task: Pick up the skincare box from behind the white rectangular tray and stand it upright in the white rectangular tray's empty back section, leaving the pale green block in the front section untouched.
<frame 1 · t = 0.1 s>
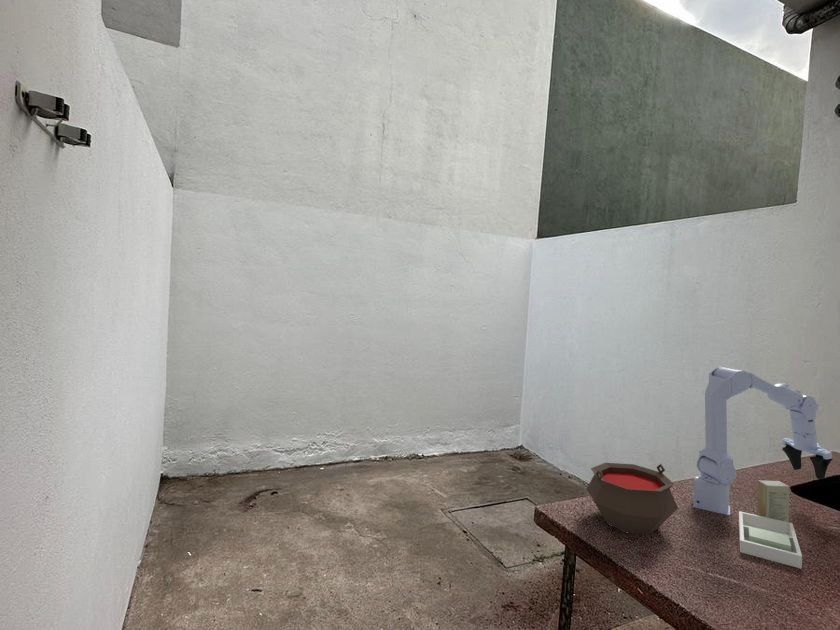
hand: (808, 473, 141), 11 cm above the table, tool pointing down, fingers open, 7 cm apart
skincare box: (771, 525, 129), on the table
pale green block: (768, 550, 114), resting on white rectangular tray
white rectangular tray: (766, 544, 118), on the table
brown cauldron: (629, 523, 129), on the table
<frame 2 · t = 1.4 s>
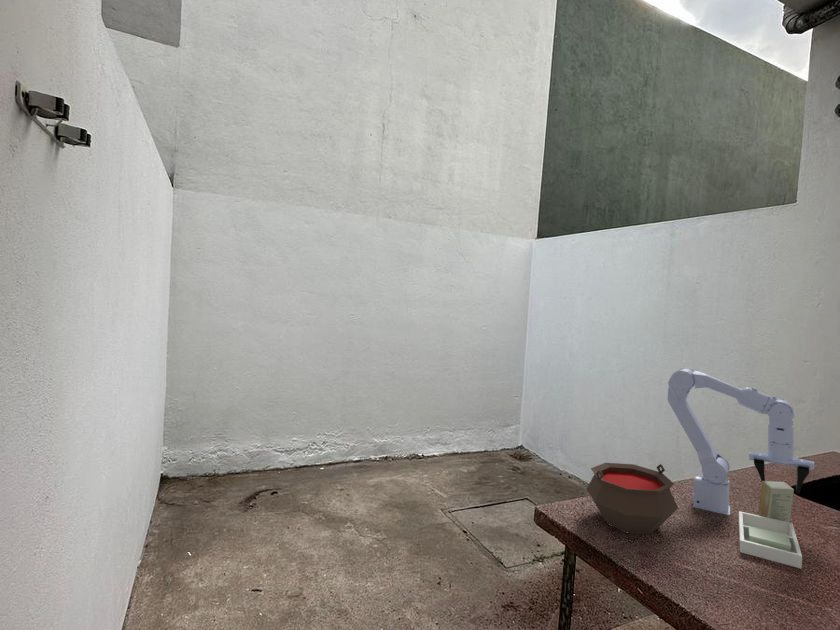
hand: (780, 489, 129), 11 cm above the table, tool pointing down, fingers open, 7 cm apart
skincare box: (772, 524, 129), on the table, touching gripper
everything else where it was.
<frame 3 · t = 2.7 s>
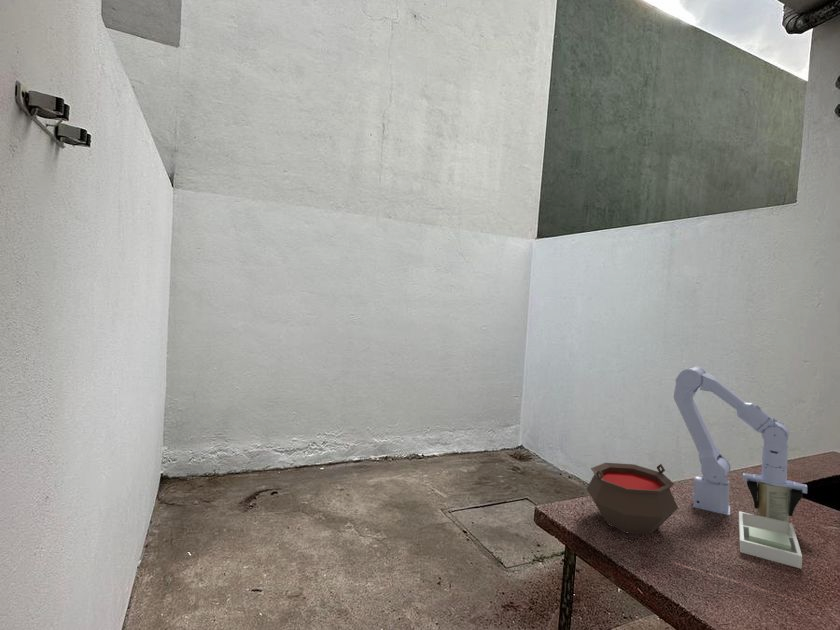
hand: (772, 511, 129), 4 cm above the table, tool pointing down, fingers closed on skincare box, 7 cm apart
skincare box: (772, 525, 129), on the table, touching gripper
everything else where it was.
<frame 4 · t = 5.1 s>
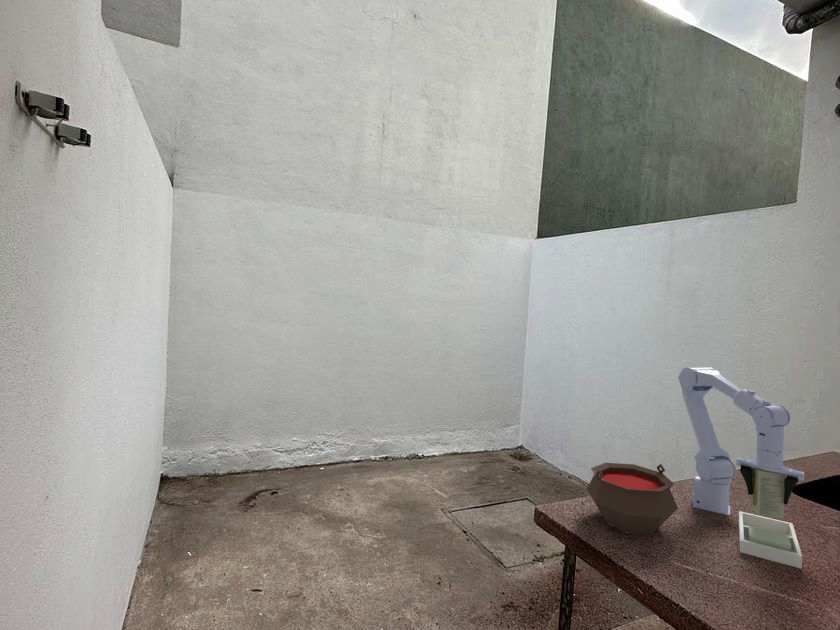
hand: (767, 498, 122), 10 cm above the table, tool pointing down, fingers closed on skincare box, 7 cm apart
skincare box: (766, 514, 122), point 6 cm above the table, touching gripper
everything else where it was.
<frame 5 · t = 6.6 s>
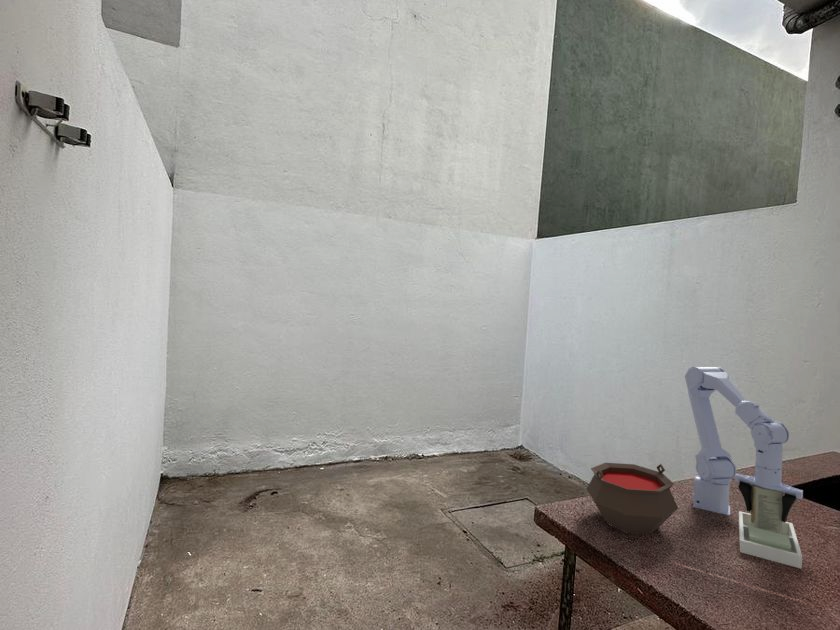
hand: (766, 515, 122), 6 cm above the table, tool pointing down, fingers closed on skincare box, 7 cm apart
skincare box: (765, 531, 122), point 1 cm above the table, touching gripper
everything else where it was.
when the fingers open (6 cm above the table, at t = 7.5 s): skincare box stays where it is, resting on white rectangular tray.
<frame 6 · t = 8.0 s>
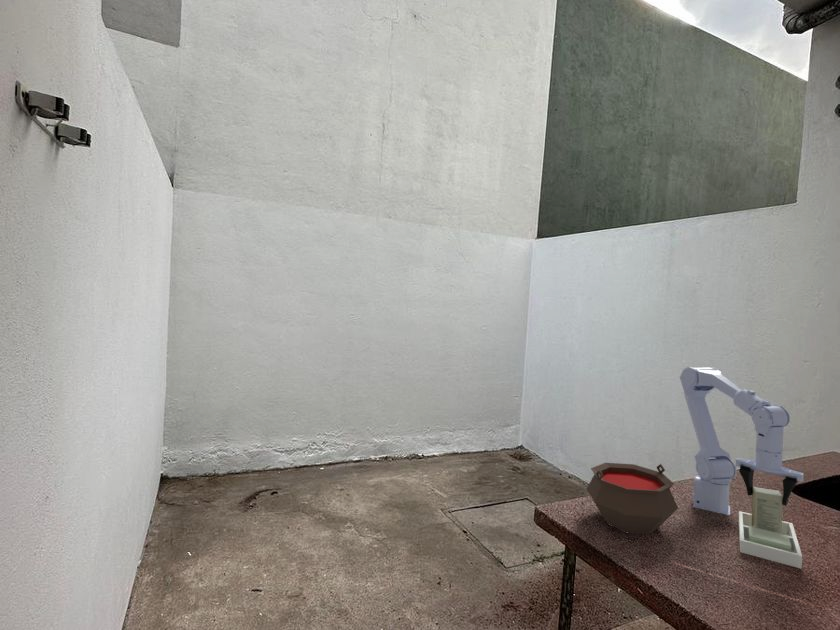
hand: (767, 499, 122), 10 cm above the table, tool pointing down, fingers open, 7 cm apart
skincare box: (765, 535, 122), resting on white rectangular tray, touching gripper
everything else where it was.
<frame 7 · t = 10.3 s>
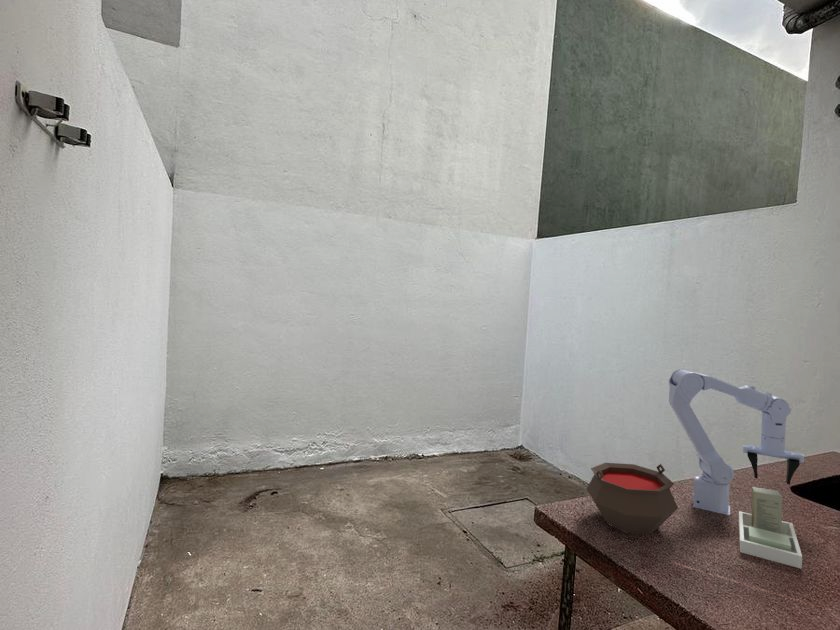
hand: (771, 480, 136), 10 cm above the table, tool pointing down, fingers open, 7 cm apart
skincare box: (765, 535, 122), resting on white rectangular tray
everything else where it was.
at the end: skincare box 0.2 cm from the target spot, resting on white rectangular tray; skincare box tilted 0°; pale green block moved 0.0 cm from its start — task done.
